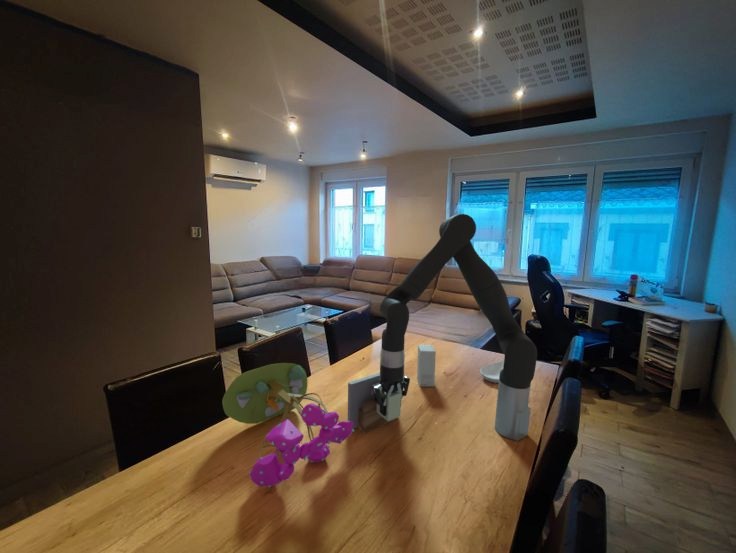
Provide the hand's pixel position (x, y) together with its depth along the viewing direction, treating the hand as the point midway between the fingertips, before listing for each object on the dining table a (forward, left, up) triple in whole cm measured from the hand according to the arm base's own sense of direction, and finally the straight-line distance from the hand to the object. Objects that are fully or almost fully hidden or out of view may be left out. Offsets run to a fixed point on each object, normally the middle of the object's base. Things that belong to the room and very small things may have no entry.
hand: (390, 411), depth 102 cm
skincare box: (+18, -34, -8) cm, 39 cm away
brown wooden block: (+6, 0, -7) cm, 10 cm away
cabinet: (+3, 0, -1) cm, 3 cm away
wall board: (+9, 0, -7) cm, 12 cm away
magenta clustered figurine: (+10, +30, -8) cm, 33 cm away
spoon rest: (+3, -67, -8) cm, 68 cm away
